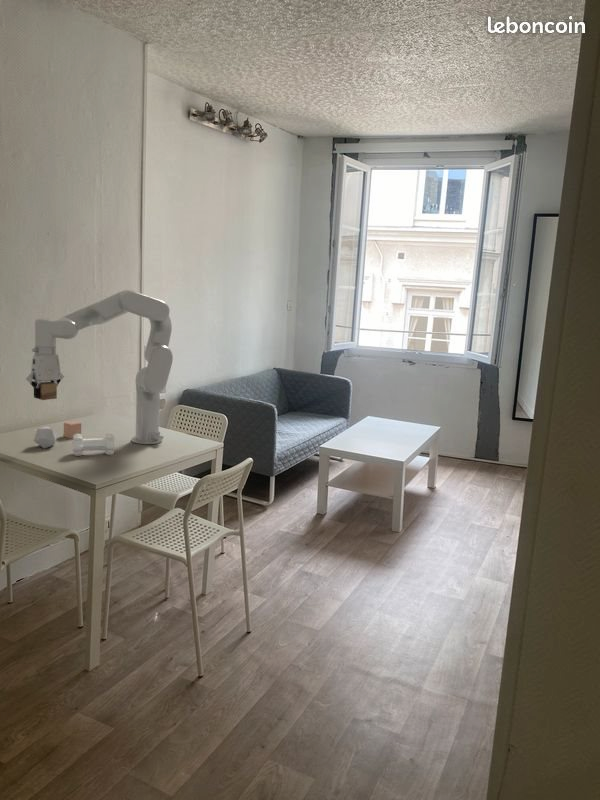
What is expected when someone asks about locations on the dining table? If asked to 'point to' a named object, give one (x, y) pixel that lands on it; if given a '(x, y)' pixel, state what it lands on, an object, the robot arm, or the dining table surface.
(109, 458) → the dining table surface
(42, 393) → the block walnut
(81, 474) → the dining table surface
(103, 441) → the dog bone
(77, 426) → the block terracotta
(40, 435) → the die
